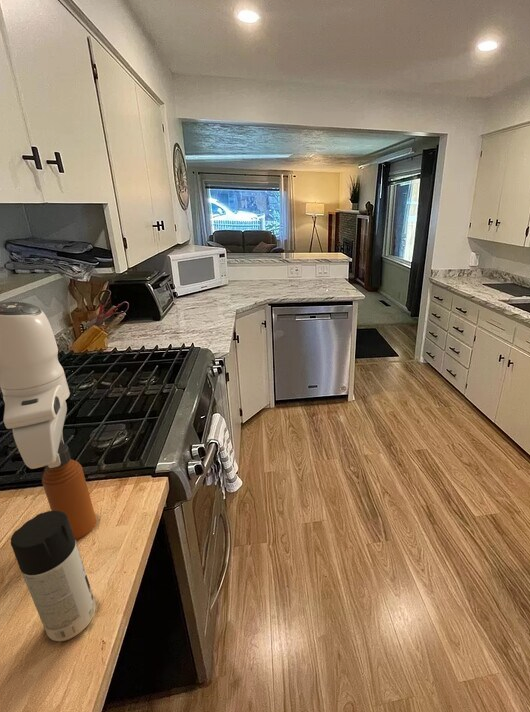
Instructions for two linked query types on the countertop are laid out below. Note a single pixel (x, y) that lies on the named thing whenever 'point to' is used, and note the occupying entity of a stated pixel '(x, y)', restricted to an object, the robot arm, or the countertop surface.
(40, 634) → the countertop surface
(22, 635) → the countertop surface
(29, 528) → the spray can
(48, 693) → the countertop surface
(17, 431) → the robot arm
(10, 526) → the countertop surface
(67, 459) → the cap
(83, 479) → the bottle
